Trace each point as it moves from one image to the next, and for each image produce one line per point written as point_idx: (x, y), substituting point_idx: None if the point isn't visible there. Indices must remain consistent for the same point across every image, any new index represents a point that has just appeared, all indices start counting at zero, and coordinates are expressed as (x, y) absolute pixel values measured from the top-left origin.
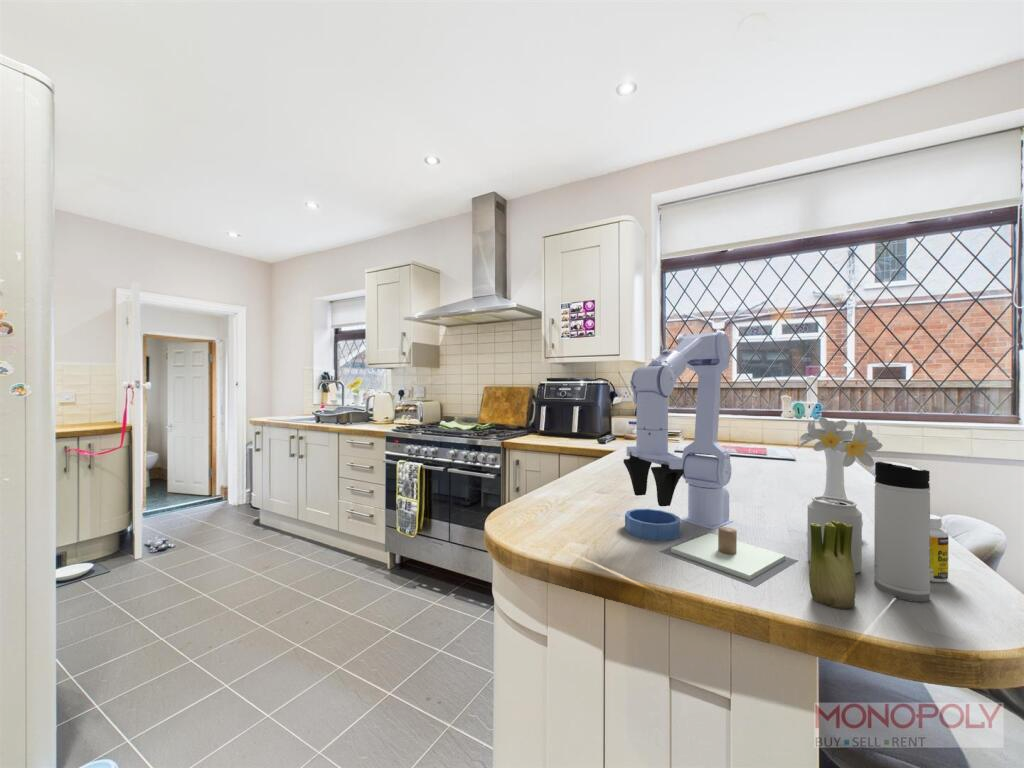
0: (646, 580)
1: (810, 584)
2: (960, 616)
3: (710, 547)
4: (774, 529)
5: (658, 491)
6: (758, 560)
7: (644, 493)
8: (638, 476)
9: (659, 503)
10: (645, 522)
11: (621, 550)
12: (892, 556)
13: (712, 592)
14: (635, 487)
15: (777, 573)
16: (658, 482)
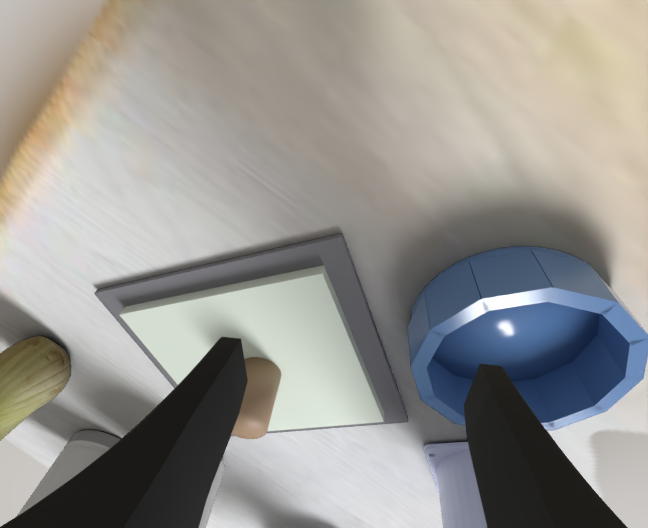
0: (142, 35)
1: (15, 354)
2: (40, 437)
3: (293, 360)
4: (374, 512)
5: (177, 405)
6: None
7: (467, 410)
8: (519, 518)
9: (220, 345)
10: (479, 312)
11: (422, 117)
12: (42, 496)
13: (72, 189)
14: (499, 409)
15: (161, 372)
16: (108, 469)
